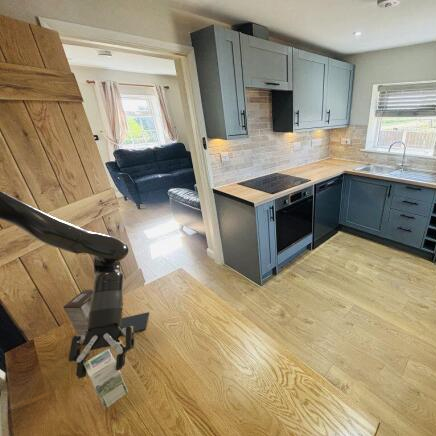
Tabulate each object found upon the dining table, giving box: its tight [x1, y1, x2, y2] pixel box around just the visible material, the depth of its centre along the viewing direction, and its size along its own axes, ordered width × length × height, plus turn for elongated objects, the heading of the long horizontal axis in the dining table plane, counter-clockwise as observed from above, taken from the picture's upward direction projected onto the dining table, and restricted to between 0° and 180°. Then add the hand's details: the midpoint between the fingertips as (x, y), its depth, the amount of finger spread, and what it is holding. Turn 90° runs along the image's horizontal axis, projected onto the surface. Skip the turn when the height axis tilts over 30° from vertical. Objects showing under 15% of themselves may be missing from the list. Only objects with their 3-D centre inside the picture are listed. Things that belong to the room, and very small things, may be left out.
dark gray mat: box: [82, 311, 150, 346], centre depth 92 cm, size 20×9×1 cm, turn 111°
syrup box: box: [83, 348, 129, 410], centre depth 65 cm, size 6×6×14 cm
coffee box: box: [63, 288, 93, 336], centre depth 88 cm, size 9×6×16 cm
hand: (100, 373), depth 62 cm, fingers closed on syrup box, 8 cm apart
